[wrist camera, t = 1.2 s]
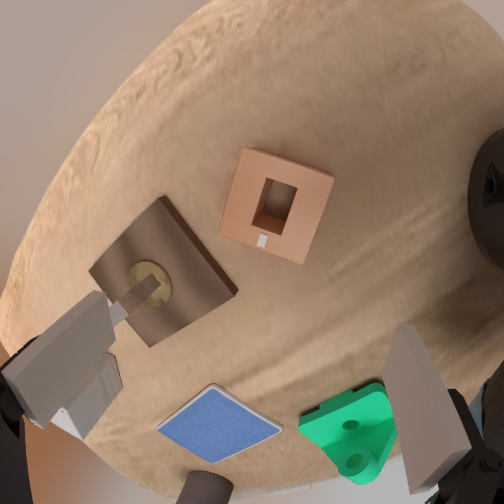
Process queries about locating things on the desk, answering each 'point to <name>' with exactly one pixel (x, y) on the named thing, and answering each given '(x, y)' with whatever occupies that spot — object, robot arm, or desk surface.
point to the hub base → (160, 275)
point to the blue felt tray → (218, 425)
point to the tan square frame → (254, 196)
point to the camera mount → (354, 431)
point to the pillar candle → (205, 489)
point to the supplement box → (90, 398)
